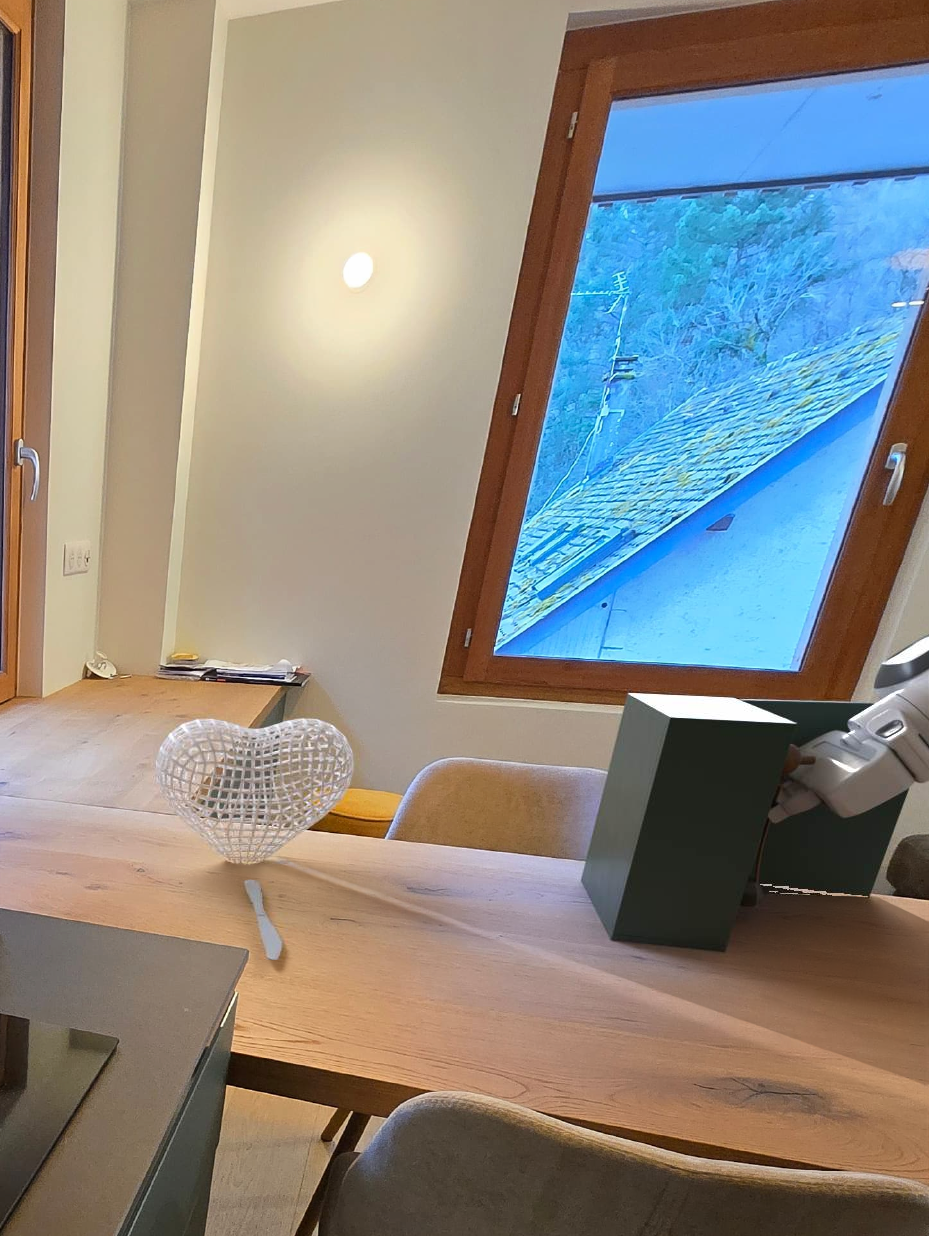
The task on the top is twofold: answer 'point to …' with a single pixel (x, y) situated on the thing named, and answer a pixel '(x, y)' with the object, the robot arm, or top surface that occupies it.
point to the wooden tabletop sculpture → (753, 888)
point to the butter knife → (264, 921)
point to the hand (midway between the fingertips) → (764, 815)
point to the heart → (253, 780)
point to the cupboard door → (824, 820)
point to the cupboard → (683, 817)
